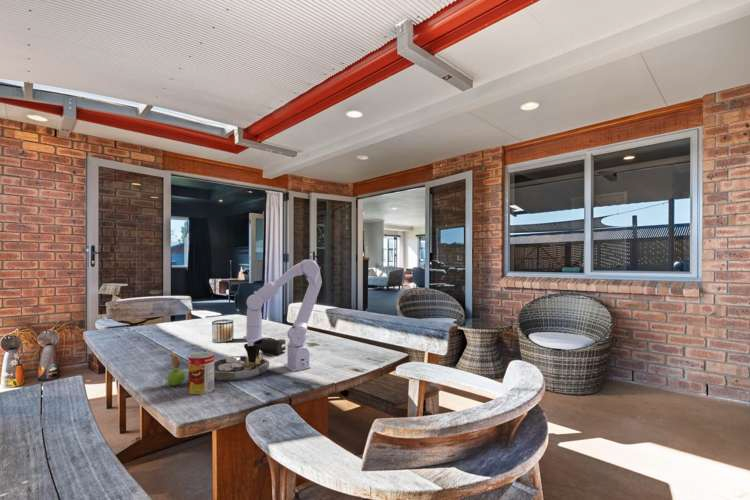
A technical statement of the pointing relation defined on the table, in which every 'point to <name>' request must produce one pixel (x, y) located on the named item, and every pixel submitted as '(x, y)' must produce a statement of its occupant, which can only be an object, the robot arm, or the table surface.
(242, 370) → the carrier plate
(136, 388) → the table surface
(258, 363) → the gold octagonal ring
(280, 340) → the end cap
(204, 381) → the canned food
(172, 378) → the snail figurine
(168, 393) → the table surface
